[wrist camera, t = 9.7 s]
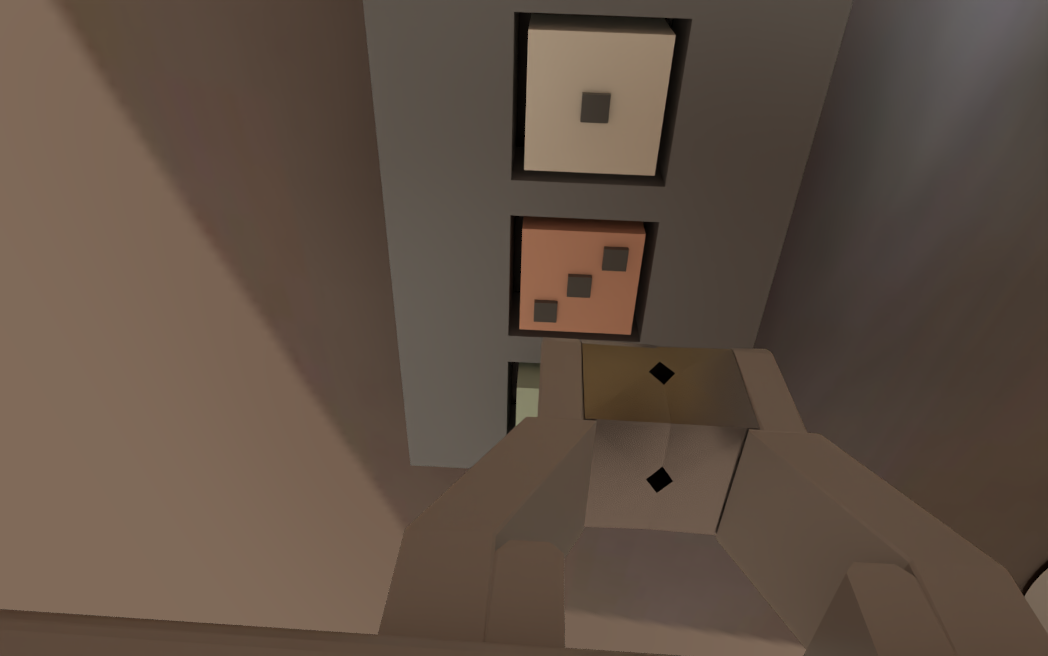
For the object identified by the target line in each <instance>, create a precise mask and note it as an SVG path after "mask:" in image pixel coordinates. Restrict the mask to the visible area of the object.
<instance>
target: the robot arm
mask: <svg viewBox="0 0 1048 656" xmlns="http://www.w3.org/2000/svg"><path fill="white" fill-rule="evenodd" d="M584 527H603V528H631V529H652V530H664V531H675V532H686V533H697V534H708V535H716V539H717V541H718V542H719V543H720V544H721V546H722V547H723V548H724V549H725V551H726V552H727V553H728V554H729V555H730V557H731V558H732V559H733V560H734V562H735V563H736V564H737V565H738V566H739V568H740V569H741V570H742V571H743V573H744V574H745V575H746V576H747V578H748V579H749V580H750V581H751V582H752V584H753V585H754V586H755V587H756V589H757V590H758V591H759V592H760V593H761V595H762V596H763V597H764V598H765V600H766V601H767V602H768V603H769V605H770V606H771V607H772V608H773V609H774V611H775V612H776V613H777V614H778V616H779V617H780V618H781V619H782V621H783V622H784V623H785V624H786V625H787V627H788V628H789V629H790V630H791V632H792V633H793V634H794V635H795V636H796V638H797V639H798V640H799V641H800V643H801V644H802V645H803V646H804V648H805V649H806V652H805V654H804V656H1048V569H1047V570H1045V571H1044V572H1043V573H1042V574H1041V575H1040V576H1039V577H1038V578H1037V580H1036V581H1035V582H1034V583H1033V584H1032V586H1031V587H1030V588H1029V590H1028V591H1027V593H1026V595H1025V597H1024V596H1023V594H1022V593H1021V591H1020V589H1019V588H1018V586H1017V585H1016V583H1015V582H1014V580H1013V578H1012V577H1011V575H1010V574H1009V572H1008V570H1007V569H1006V568H1004V567H1003V566H1002V565H1000V564H999V563H997V562H996V561H995V560H993V559H992V558H991V557H989V556H988V555H986V554H985V553H984V552H982V551H981V550H980V549H978V548H977V547H975V546H974V545H973V544H971V543H970V542H968V541H967V540H966V539H964V538H963V537H962V536H960V535H959V534H957V533H956V532H955V531H953V530H952V529H951V528H949V527H948V526H946V525H945V524H944V523H942V522H941V521H939V520H938V519H937V518H935V517H934V516H933V515H931V514H930V513H928V512H927V511H926V510H924V509H923V508H922V507H920V506H919V505H917V504H916V503H915V502H913V501H912V500H910V499H909V498H908V497H906V496H905V495H904V494H902V493H901V492H899V491H898V490H897V489H895V488H894V487H892V486H891V485H890V484H888V483H887V482H886V481H884V480H883V479H881V478H880V477H879V476H877V475H876V474H875V473H873V472H872V471H870V470H869V469H868V468H866V467H865V466H863V465H862V464H861V463H859V462H858V461H857V460H855V459H854V458H852V457H851V456H850V455H848V454H847V453H846V452H844V451H843V450H841V449H840V448H839V447H837V446H836V445H834V444H833V443H832V442H830V441H829V440H828V439H826V438H825V437H823V436H822V435H821V434H816V433H807V430H806V428H805V426H804V424H803V421H802V419H801V417H800V415H799V412H798V410H797V408H796V406H795V403H794V401H793V399H792V397H791V394H790V392H789V390H788V388H787V385H786V383H785V381H784V379H783V376H782V374H781V372H780V370H779V367H778V365H777V363H776V361H775V358H774V356H773V354H772V353H771V352H770V351H769V350H767V349H748V348H728V349H717V348H695V347H672V346H655V345H649V344H636V343H623V342H610V341H596V340H583V339H581V342H580V340H579V339H567V338H549V337H543V339H542V343H541V361H540V379H539V397H538V416H537V417H525V418H524V419H523V420H522V421H521V422H520V423H519V424H518V425H517V426H516V427H514V428H513V429H512V430H511V431H510V432H509V433H508V434H507V435H506V436H505V437H504V438H503V439H502V440H500V441H499V442H498V443H497V444H496V445H495V446H494V447H493V448H492V449H491V450H490V451H489V452H488V453H486V454H485V455H484V456H483V457H482V458H481V459H480V460H479V461H478V462H477V463H476V464H475V465H474V466H472V467H471V468H470V469H469V470H468V471H467V472H466V473H465V474H464V475H463V476H462V477H461V478H460V479H458V480H457V481H456V482H455V483H454V484H453V485H452V486H451V487H450V488H449V489H448V490H447V491H445V492H444V493H443V494H442V495H441V496H440V497H439V498H438V499H437V500H436V501H435V502H434V503H433V504H431V505H430V506H429V507H428V508H427V509H426V510H425V511H424V512H423V513H422V514H421V515H420V516H419V517H417V518H416V519H415V520H414V521H413V522H412V523H411V524H410V525H409V526H408V527H407V528H406V529H405V530H404V534H403V538H402V542H401V546H400V550H399V554H398V557H397V562H396V565H395V569H394V573H393V577H392V581H391V585H390V589H389V593H388V597H387V601H386V605H385V608H384V612H383V617H382V620H381V624H380V628H379V632H378V635H375V634H374V635H373V634H360V633H345V632H331V631H316V630H301V629H287V628H272V627H257V626H256V627H255V626H243V625H227V624H213V623H197V622H184V621H169V620H154V619H140V618H124V617H110V616H95V615H80V614H65V613H51V612H36V611H21V610H7V609H0V656H678V655H663V654H648V653H634V652H619V651H605V650H590V649H577V648H565V622H564V620H565V618H564V617H565V616H564V559H565V558H566V556H567V555H568V553H569V552H570V550H571V549H572V547H573V546H574V544H575V543H576V541H577V540H578V538H579V537H580V535H581V534H582V532H583V531H584Z"/></svg>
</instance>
